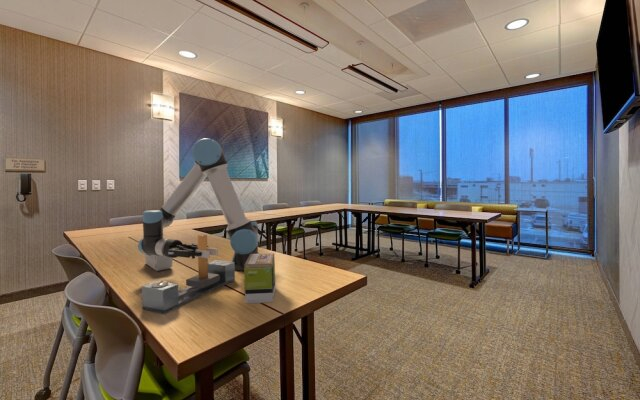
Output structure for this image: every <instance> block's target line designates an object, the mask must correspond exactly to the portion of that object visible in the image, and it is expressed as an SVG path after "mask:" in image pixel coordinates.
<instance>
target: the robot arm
mask: <svg viewBox="0 0 640 400" xmlns="http://www.w3.org/2000/svg"><path fill="white" fill-rule="evenodd" d="M191 151H192V153H191V154H192V157H193V158H194V162H193V163H194V165H193V166H192V168H191V169H190V170H189V172H188V173H187V174H186V175H185V177H184V178H183V179H182V181H181V182H180V183H179V185H178V186H177V187H176V188H175V189H174V191H173V192H172V193H171V194H170V196H169V197H168V198H167V200H166V201H164V204H162V206H161V207H160V208H159V209H157V210H155V209H154V210H153V209H152V210H151V209H150V210H145V211H143V213H142V231H143V237H142V238H141V239H140V240H139V242H138V244H137V248H138V251H139V252H140V253H142V254H144V255H145V254H148V255H157V256H164V258H166V257H171V258H172V259H175V258H188V259H189V258H191V259H196V257H197V258H198V257H203V258H208V259H210V258H211V256H219V254H218V252H219V251H218V250H219V249H218V248H215V247H209V245H207V250H208V251H206V250H198V243H197V244H196V243H191V244H186V243H183V242H182V241H180V240H178V239H172V238H171V239H170V238H164V228H169V226H170V225H171V224H173V222H174V220H175V218H176V216H177V215H178V213H179V212H180V211H181V210H183V207H185V205H186V204H187V202H189V199H191V197H192V196H193V195H194V193H195V192H196V191H197V189H198V188H200V186H201V184H202V183H203V182H204V181H205V180H206V178H208V181H209V183H210V186H211V188H212V190H213V193H214V195H215V197H216V200H217V203H218V204H219V207H220V209H221V212H222V214H223V216H224V219H225V222H226V224H227V227H226V229H225V230H226V232H227V235H228V238H229V240H230V241H229V242H230V243H229V244H230V246H231V247H230V248H231V249H232V250H233V255H232V259H231V262H235V271H244V264H245V263H246V261H247V259H248V257H249V256H250V254H260V253H259V237H258V236H259V235H258V234H259V231H258V229H259V226H258V225H259V224H258V222H257V221H252V220H251V219H249V218H247V217H246V215H245V213H244V212H245V211H244V210H243V208H242V205H241V203H240V200H239V198H238V195H237V193H236V190H235V187H234V185H233V183H232V180H231V178H230V175H229V173H228V170H227V167H228V166H229V164H228V162H227V159H226V156H225V150H224V148H223V147H222V146H221V144H220V143H219V142H218V141H216V140H215V139H212V138H201V139H199V140H197V141H196V142H195V143H194V145H193V147H192V150H191Z"/></svg>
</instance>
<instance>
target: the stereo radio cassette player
mask: <svg viewBox="0 0 640 400" xmlns="http://www.w3.org/2000/svg"><path fill="white" fill-rule="evenodd" d="M144 256H145V258H144V259H145V260H144V261H145V264H146V265H147V266H148V267H150V268H152V269H153V270H154V271H156V272H159V271H164V270H170V269H171V268H172V267H173V258H171V257H166V258H164V256H157V255H148V254H144Z"/></svg>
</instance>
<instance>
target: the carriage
mask: <svg viewBox="0 0 640 400" xmlns="http://www.w3.org/2000/svg"><path fill="white" fill-rule="evenodd" d="M197 245H198V250H206V251H208V250H207V246H208V234H198V235H197ZM197 262H198V263H197V267H198V268H197V269H198V270H197V271H198V274H197V275H195V276H192V277H188V278H187V279H185V284H186V287H188V286H191V287H197V288H204V287H206V286H208V285H211V284H213V283H215V282H217V281H220V275H219V274H212V273H208V263H209V258H203V257H197Z"/></svg>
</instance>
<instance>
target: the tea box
mask: <svg viewBox="0 0 640 400" xmlns="http://www.w3.org/2000/svg"><path fill="white" fill-rule="evenodd" d="M275 265H276V264H275V252H269V253H268V252H267V253H259V254H250V256H249V257H248V259H247V261H246V263H245V264H244V270H243V271H244V298H245V303H246V304H264V302H269V303H273V302H274V296H275V293H276V292H275V291H276V266H275Z"/></svg>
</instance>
